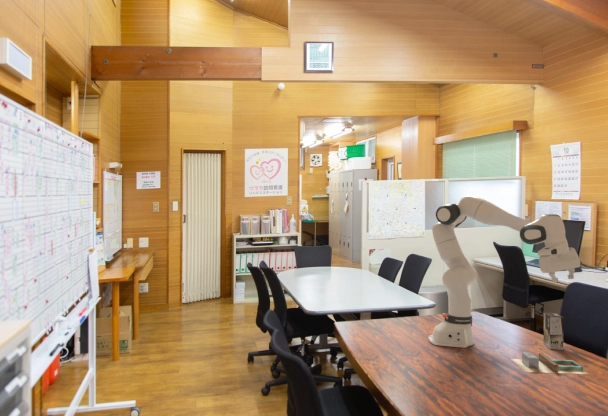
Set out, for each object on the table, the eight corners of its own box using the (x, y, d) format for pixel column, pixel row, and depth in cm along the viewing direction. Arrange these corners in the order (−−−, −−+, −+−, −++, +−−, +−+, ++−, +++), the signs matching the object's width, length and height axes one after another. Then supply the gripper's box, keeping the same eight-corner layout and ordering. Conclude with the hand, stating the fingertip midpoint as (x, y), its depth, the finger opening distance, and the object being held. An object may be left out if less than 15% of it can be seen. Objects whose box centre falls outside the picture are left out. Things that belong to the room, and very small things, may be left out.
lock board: (524, 373, 180) (524, 364, 180) (510, 360, 195) (510, 351, 195) (589, 376, 178) (589, 366, 178) (570, 362, 193) (570, 353, 193)
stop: (529, 368, 184) (529, 358, 184) (522, 362, 191) (522, 352, 191) (538, 368, 184) (538, 358, 184) (531, 362, 191) (531, 352, 191)
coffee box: (563, 350, 209) (564, 317, 209) (549, 349, 211) (549, 316, 210) (556, 344, 218) (557, 312, 218) (543, 343, 219) (543, 311, 219)
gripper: (568, 247, 198) (574, 277, 196) (534, 252, 191) (540, 283, 189) (580, 246, 192) (586, 277, 190) (546, 251, 185) (552, 284, 184)
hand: (563, 280), depth 190 cm, fingers open, 8 cm apart
